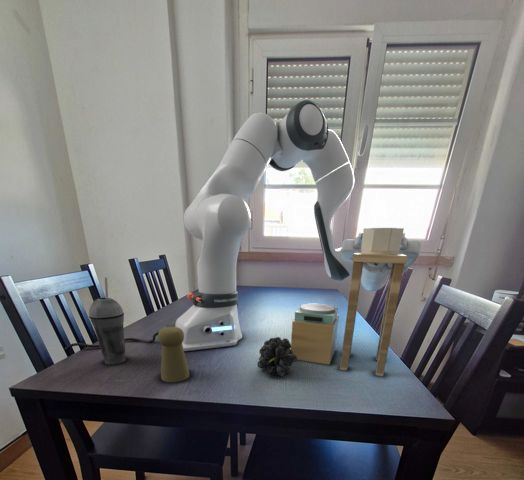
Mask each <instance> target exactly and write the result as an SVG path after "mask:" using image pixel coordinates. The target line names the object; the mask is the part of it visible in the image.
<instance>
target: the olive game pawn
mask: <svg viewBox="0 0 524 480" xmlns="http://www.w3.org/2000/svg"><path fill="white" fill-rule="evenodd" d="M166 327H167V326H166ZM166 327H163V328H161V329H160V330H159V331H158V332H159V333H158V335H157V339H158V342H159V343H160V344H161V361H160V364H161V365H160V379H161V381H163V382H165V383H178V382H182V381H185V380H187V379H188V378H189V377H190V371H189V367H188V361H187V357H186V354H185V351H184V349H183V345H182V342H183V340H184V333H183V331H182V330H181V329H180V328H178V327H167V328H166Z"/></svg>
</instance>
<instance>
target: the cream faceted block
mask: <svg viewBox="0 0 524 480" xmlns="http://www.w3.org/2000/svg"><path fill="white" fill-rule="evenodd" d="M362 233H363V237H362V245H361V254H384V255H398V254H399V252H400V246H401V241H402V235H403V233H404V227H403V228H402V227H365V228H363V231H362Z"/></svg>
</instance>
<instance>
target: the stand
mask: <svg viewBox="0 0 524 480" xmlns="http://www.w3.org/2000/svg"><path fill="white" fill-rule="evenodd" d="M406 259H407V256H406V255H403V254H398V255H384V254H361V253H355V254H353V261H352V262H353V270H352V274H351V278H350V284H349V285H350V286H349V293H348V303H347V310H346V317H345V324H344V325H345V326H344V333H343V340H342V341H343V342H342V350H341V356H340V365H339V370H341V371H348V366H349V358H350V357H351V354H352V349H353V347H352V345H353V341H354V332H355V325H356V318H357V311H358V303H359V296H360V290H361V276H362V268H363V262H370V263H392V268H391V274H390V275H389V278H388V286H387V292H386V297H385V302H384V307H383V308H384V309H383V314H382V320H381V326H380V331H379V337H378V343H377V349H376V355H375V361H377V363H376V369H375V376H378V377H384V374H385V368H386V363H387V359H388V354H389V353H388V352H389V347H390V344H391V343H390V342H391V337H392V332H393V326H394V322H395V316H396V310H397V305H398V300H399V294H400V289H401V286H402V285H401V284H402V278H403V274H404V273H403V269H404V264H406Z"/></svg>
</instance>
